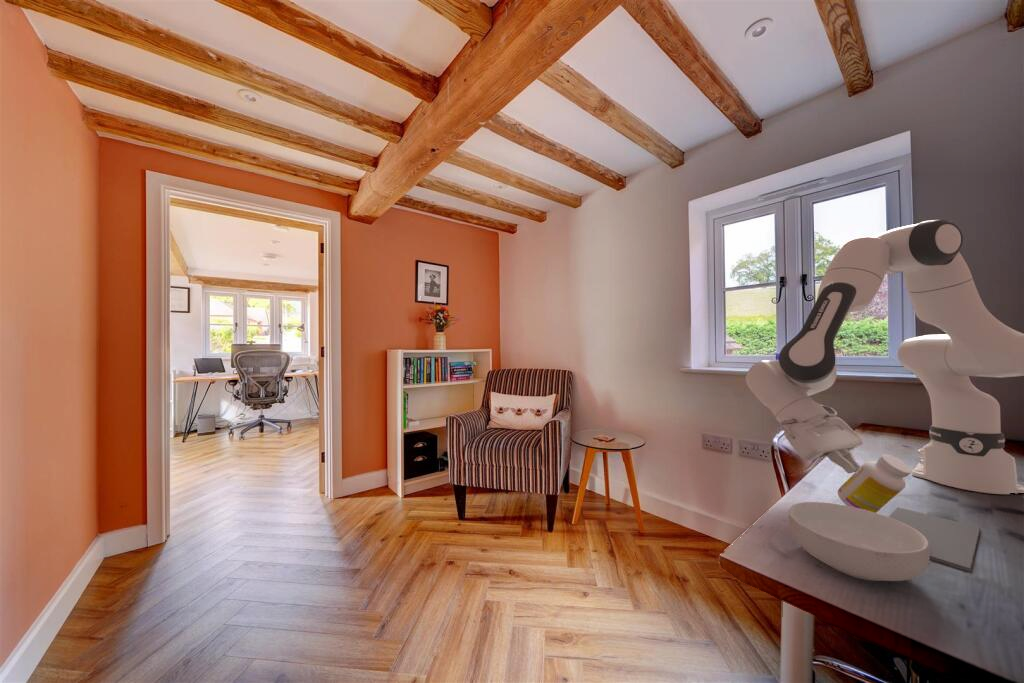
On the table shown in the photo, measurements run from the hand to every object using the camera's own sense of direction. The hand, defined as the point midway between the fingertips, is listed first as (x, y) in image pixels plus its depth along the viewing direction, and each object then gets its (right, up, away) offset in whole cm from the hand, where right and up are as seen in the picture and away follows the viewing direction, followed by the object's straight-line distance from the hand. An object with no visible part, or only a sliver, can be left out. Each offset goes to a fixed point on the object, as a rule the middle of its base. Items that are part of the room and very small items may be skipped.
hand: (855, 471), depth 77 cm
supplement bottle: (0, -7, +1) cm, 7 cm away
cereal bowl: (-18, -9, -19) cm, 28 cm away
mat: (+4, -9, -10) cm, 14 cm away
